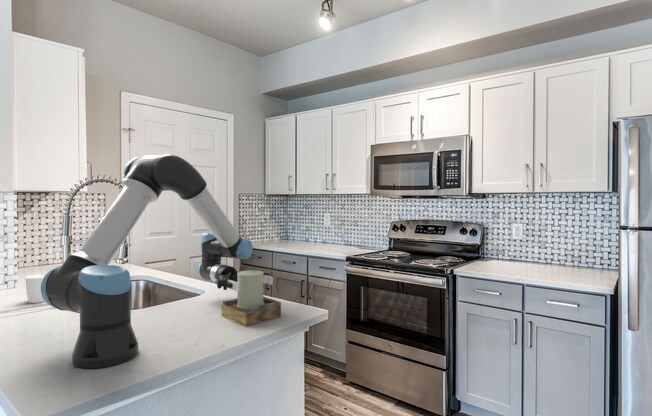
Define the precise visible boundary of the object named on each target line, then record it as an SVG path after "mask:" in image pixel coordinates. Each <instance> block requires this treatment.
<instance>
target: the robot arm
mask: <svg viewBox="0 0 652 416" xmlns="http://www.w3.org/2000/svg"><path fill="white" fill-rule="evenodd" d="M123 174H124V175H123V180H122V183H121V184H122V186H123V189H122V191H121V192H120V194H119V195H118V196H117V198H116V199H115V201H114V202H113V203H112V205H111V206H110V208H109V209H108V210H107V212H106V213H105V214H104V216H103V217H102V219H101V220H100V222H99V223H98V224H97V226H96V227H95V229H94V230H93V232H92V233H91V234H90V235H89V237H88V239H87V240H86V241H85V243H84V244H83V246H82V247H81V248H80V250H79V251H78V252H75V253H71V254H69V255H68V256H67V258H66V259H65V261H63V263H62V265H59V266H56V267H53V268H51V269H50V270H49V271H47V273H46V275H45V276H44V278H43V280H42V283H41V294H42V297H43V299H44V301H45V302H44V303H46V304H47V305H48V306H50V307H51V308H52V307H53V308H55V309H57V310H58V311H65V312H66V311H67V312H73V313H77V314H79V333H78V336H77V339H76V342H75V345H74V348H73V350H72V353H71V354H72V355H71V363H72V365H73V366H74V367H77V368H80V369H87V370H88V369H91V370H92V369H101V368H106V367H108V368H109V367H113V366H116V365H120V364H123V363H126V362H128V361H130V360H131V359H133V358H134V357H136V356H137V355H138V353H139V342H138V339H137V336H136V334H135V331H134V329H133V327H132V326H133V325H132V321H131V320H132V316H131V314H132V312H131V311H132V309H131V307H132V304H131V303H132V302H131V299H132V298H131V297H132V296H131V295H132V291H131V289H132V288H131V287H132V282H131V275H130V272H129V270H128V269H127V268H125V267H122V266H121V265H114V264H110V263H111V262H112V261H113V259H114V257H115V256H116V254H117V253H118V251H119V250H120V248H121V247H122V245H123V244H124V242H125V241H126V239H127V237H128V236H129V234H130V233H131V231H132V230H133V228H134V227H135V225H136V223H137V222H138V221H139V219H140V217H141V216H142V214H143V213H144V211H145V209H146V208H147V206H148V205H149V204H150V203H154V202H157V200H158V199H159V197H160V196H161V194H162V192H163V191H171V192H173V193H175V194H176V195H177V196H179V198H180V199H181V200H183V201H187V202H188V204H189V205H190V206H191V208H192V209H193V210H194V212H195V213H196V215H197V216H198V217H199V218H200V220H201V221H202V222H203V223H204V225H205V226H206V227H207V228H208V230H209V232H204V233H202V234H201V243H200V244H201V261H200V263H199V264H198V267H197V271H196V272H197V275H198V276H199V278H201V279H203V280H204V281H206V282H207V281H208V282H211V283H214V284H216V287H217V289H222V288H223V291H227V290H228V289H229V290H232V291H236V292H238V291H240V283H238V278H237V273H238V272H239V271H237V269H236V268H235V267H234V266H231V265H228V264H223V263H222V258H227V259H228V258H229V259H237V260H246V259H247V260H248V259H249V258H250V257H251V256H252V254H253V249H254V248H253V244H252V241H251V240H249V239H246V238H242V236H240V234H239V233H238V232H237V229H236V228H235V227H234V225H233V224H232V223H231V221H230V220H229V218H228V217H227V216H226V214H225V213H224V211H223V210H222V209H221V207H220V206H219V204H218V202H217V201H216V200H215V198H214V196H212V194H211V193H210V191H209V190H208V188H207V187H208V186H207V185H208V184H207V181H206V180H205V179H204V177H203V176H202V174H201V173H200V172H199V171H198V170H197V169H196V168H195V167H194V166H193V164H191V163H190V162H188V161H187V160H185V159H184V158H182V157H180V156H179V155H174V154H169V153H168V154H162V155H161V154H159V155H157V154H156V155H154V154H153V155H147V154H145V155H140V156H137V157H134V158H132V159H130V160H129V161H128V162H127V163H126V165H125V167H124V169H123ZM273 278H274V277H273V276H270V275H268V273H267V272H264V274H263V284H266V285H270V286H273V285H274V283H273V282H274V280H273Z"/></svg>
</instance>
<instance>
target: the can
mask: <svg viewBox="0 0 652 416" xmlns="http://www.w3.org/2000/svg"><path fill="white" fill-rule="evenodd" d="M237 272H238V273H237V278H238V283H240V291H237V298H236V299H237V307H239V308H242V309H247V308H251V307H256V306H260V305H264V303H263V297H264V283H263V274H264V273H265V272H264V271H262V270H251V269H249V270H240V271H237Z"/></svg>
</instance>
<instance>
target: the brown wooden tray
mask: <svg viewBox="0 0 652 416" xmlns="http://www.w3.org/2000/svg"><path fill="white" fill-rule="evenodd" d="M263 303H264V305H260V306H256V307H251V308H247V309H242V308H239V307H237V298H232V299H226V300H223V301H222V304H221V317H222V316H223V318H224V317H226V318H225V319H227V318H228V319H227V320H229V319H230V321H231V320H233V321H232V322H234V321H235V322H234V323H236V322H237V324H238V323H239V324H238V325H241V326H243V325H244V327H248V326H247V325H249V326H251V324H253V325H255V324H254V323H256V324H259V323H258V322H260V323H262V322H261V321H264V322H266V321H265V320H267V321H270V320H269V319H271V320H274V319H273V318H275V319H278V318H281V317H282V301H278V300H275V299H272V298H269V297H266V296H263ZM280 316H281V317H280ZM277 317H278V318H277Z"/></svg>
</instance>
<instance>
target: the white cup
mask: <svg viewBox="0 0 652 416" xmlns="http://www.w3.org/2000/svg"><path fill="white" fill-rule="evenodd" d="M46 274H47V273H46ZM46 274H44V273H43V274H42V273H41V274H33V275H28V276H26V277H25V287H26V289H25V290H26V298H27V303H28V304H38V303H46V302H45V301H44V299H43V297H42V294H41V283H42V280H43V278H44V276H45V275H46Z"/></svg>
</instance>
